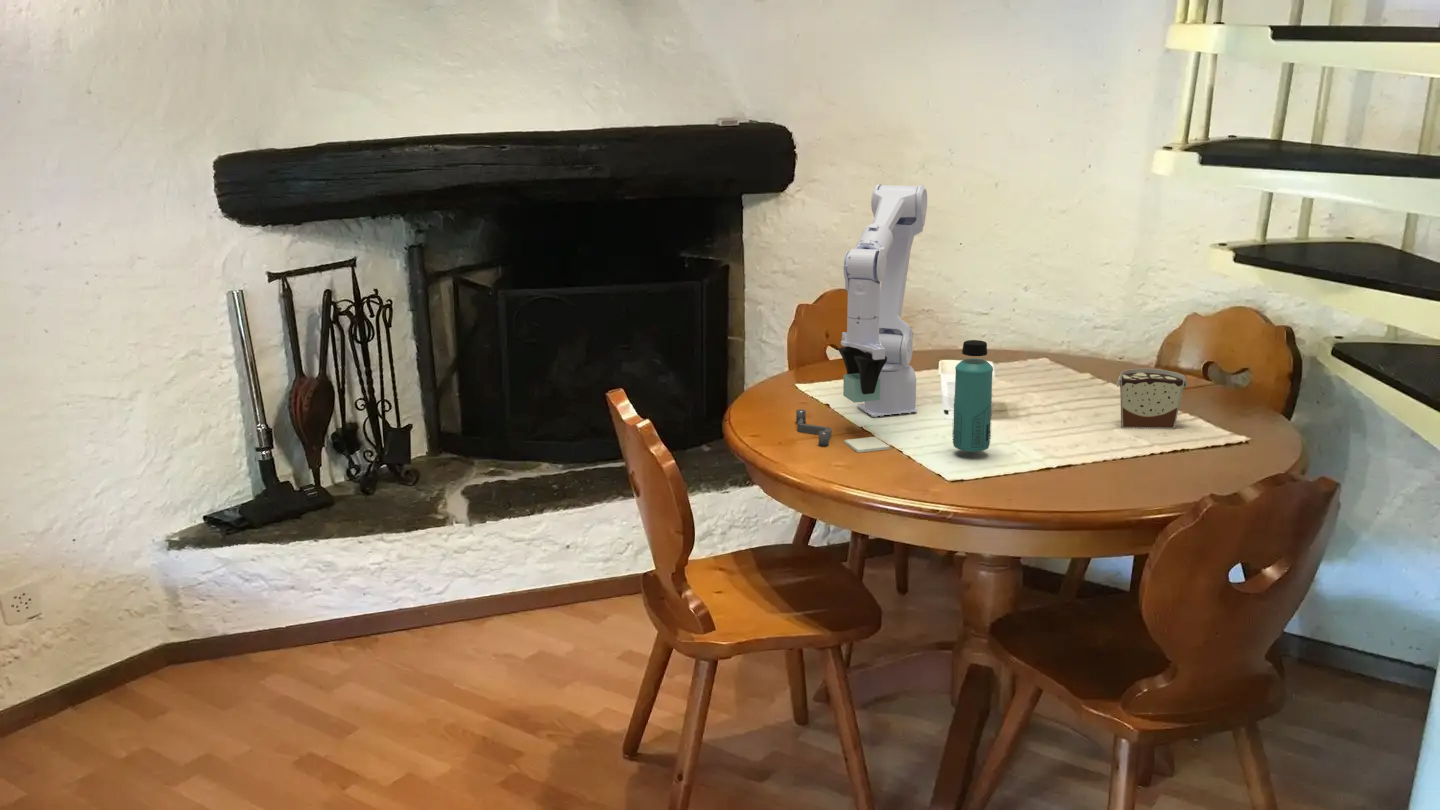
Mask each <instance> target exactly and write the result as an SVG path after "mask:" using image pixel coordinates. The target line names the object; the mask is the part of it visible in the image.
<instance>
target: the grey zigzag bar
mask: <svg viewBox="0 0 1440 810" xmlns="http://www.w3.org/2000/svg"><path fill="white" fill-rule="evenodd" d="M806 413H807V410H806V409H803V408H802V409H801V408H799V409H796V410H795V423H796V424H797V432H799V433H802V434H803V433H805V434H811V435H818V446H819V447H822V448H823V447H824V448H825V447H828V446H829V443H830V440H831V437H832V428H831V427H830V426H826V425H825V426H823V425H816V424H809V423H807V422H806V417H807V416H806V415H807V414H806Z"/></svg>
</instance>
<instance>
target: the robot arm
mask: <svg viewBox="0 0 1440 810" xmlns="http://www.w3.org/2000/svg"><path fill="white" fill-rule="evenodd" d="M870 205H871V206H870V207H871V212H872V214H873V220H872V223H870V224H867V225H866V226H865V227H864V229H863V230H862V231H861V235H860V237H859V238H858V241H857V243H856V245H855V247H854V248H851V249H850V250H847V251H846V253H845V255H844V258H843V267H842V269H843V276H844V282H845V283H844V285H845V287H844V288H845V291H847V313H846V314H847V319H846V321H847V322H846V323H847V324H846V325H847V326H846V331H844V332H843V331H842V332H841V341H840V345H841V346H842V347H839V348H838V352H839V354H840V356H841V358H842V359H843V362H844V366H845V369H846V374H855V373H859V374H860V382H861V390H862V393H863V394H873V393H874V392H875V388H876V385H877V381H878V378H880V400H875V401H865V402H864V403H859V404H858V403H857V404H856V407H857V408H858V409H860V410H861V411H862V412H865V413H866V414H867V413H868V414H867V415H869V416H870V415H871V416H870V417H871V418H877V417H876V416H880V417H885V416H884V415H890V416H892V415H891V414H899V415H902V414H901V413H909V414H911V413H910V412H916V411H917V412H918V410H917V409H916V403H917V402H916V400H917V399H916V398H917V375H916V372H915V370H914V368H913V366H911V365H910V363H911V361H912V357H913V349H914V347H913V345H914V344H913V337H914V332H913V329H912V327H911V326H910V325H909V323H907V322H906V321H905V320H904V319H903V318H902V313H903V312H902V311H903V305H904V298H905V293H906V292H905V291H906V284H907V277H908V271H909V264H910V257H911V256H910V255H911V250H912V246H913V242H914V238H915V236H917V235H919V234H920V233H922V232H923V230H924V226H925V224H926V216H927V209H928V193H927V188H925V185H922V184H921V185H920V184H919V185H896V184H895V185H893V184H892V185H889V184H885V185H884V184H880V183H878V184H876V186H875V187H874V188H873V190H872V194H871V202H870ZM917 412H916V413H917Z"/></svg>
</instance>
